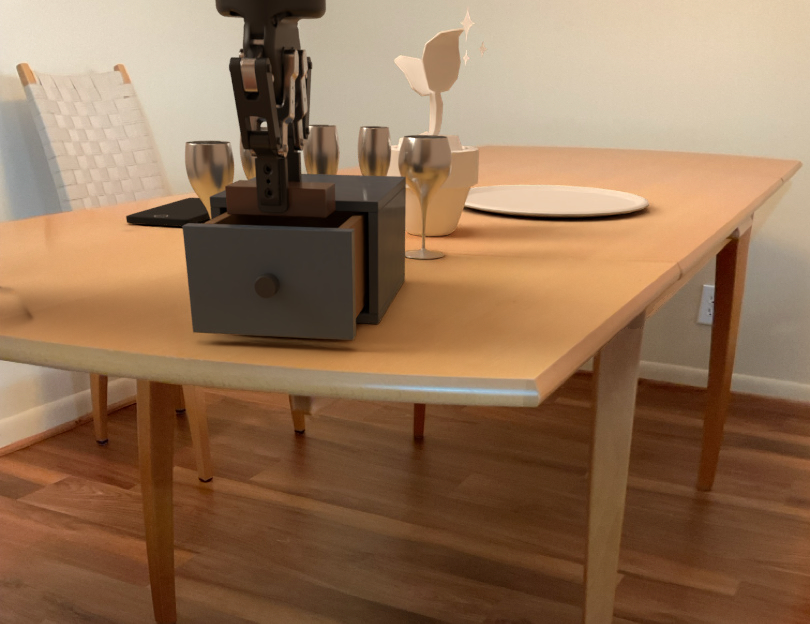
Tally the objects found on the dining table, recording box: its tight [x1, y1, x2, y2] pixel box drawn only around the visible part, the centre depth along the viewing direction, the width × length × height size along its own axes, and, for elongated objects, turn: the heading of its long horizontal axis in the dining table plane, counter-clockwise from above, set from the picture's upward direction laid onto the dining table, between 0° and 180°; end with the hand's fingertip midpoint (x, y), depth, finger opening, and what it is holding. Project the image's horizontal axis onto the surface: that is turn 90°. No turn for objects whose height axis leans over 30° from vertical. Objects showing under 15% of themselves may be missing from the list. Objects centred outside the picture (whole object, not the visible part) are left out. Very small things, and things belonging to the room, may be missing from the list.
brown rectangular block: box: [225, 179, 335, 218], centre depth 69 cm, size 4×8×2 cm, turn 83°
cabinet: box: [210, 173, 406, 325], centre depth 81 cm, size 17×14×10 cm
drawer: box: [181, 211, 369, 341], centre depth 73 cm, size 17×12×8 cm
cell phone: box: [125, 197, 210, 227], centre depth 123 cm, size 9×18×1 cm, turn 165°
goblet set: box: [184, 124, 452, 260], centre depth 95 cm, size 28×6×13 cm, turn 111°
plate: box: [464, 184, 650, 219], centre depth 135 cm, size 29×29×1 cm
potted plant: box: [387, 6, 489, 237], centre depth 109 cm, size 13×12×25 cm
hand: (280, 206), depth 69 cm, fingers closed on brown rectangular block, 3 cm apart
